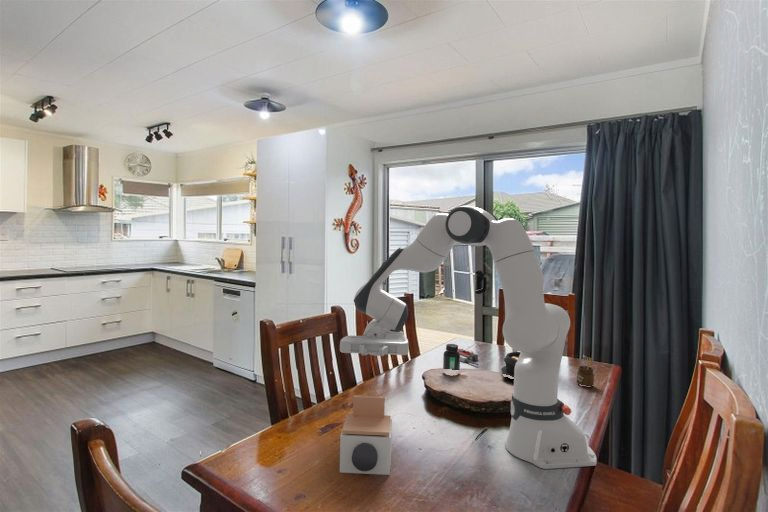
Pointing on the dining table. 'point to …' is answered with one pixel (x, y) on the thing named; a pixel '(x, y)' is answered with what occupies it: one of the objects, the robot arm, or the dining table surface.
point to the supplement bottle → (451, 357)
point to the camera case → (365, 453)
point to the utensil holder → (585, 374)
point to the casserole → (510, 363)
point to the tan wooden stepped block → (367, 417)
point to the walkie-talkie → (468, 356)
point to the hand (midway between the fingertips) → (372, 352)
